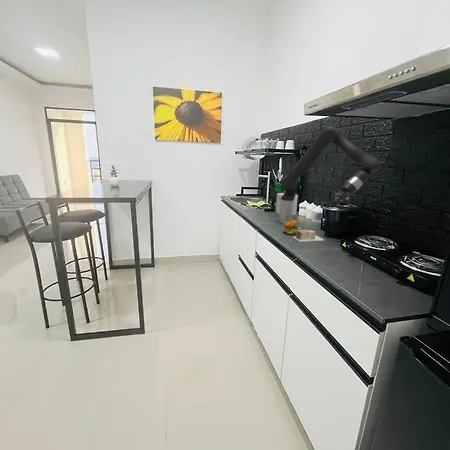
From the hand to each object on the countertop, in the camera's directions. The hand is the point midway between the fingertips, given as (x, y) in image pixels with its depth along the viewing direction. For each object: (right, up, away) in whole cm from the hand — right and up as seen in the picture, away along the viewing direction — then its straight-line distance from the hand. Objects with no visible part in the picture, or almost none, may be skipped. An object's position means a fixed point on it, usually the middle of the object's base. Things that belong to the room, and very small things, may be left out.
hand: (330, 206), depth 149 cm
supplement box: (-9, -1, +72) cm, 73 cm away
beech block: (-10, -16, +2) cm, 19 cm away
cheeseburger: (-19, -17, +13) cm, 29 cm away
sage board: (-13, -19, +2) cm, 23 cm away
